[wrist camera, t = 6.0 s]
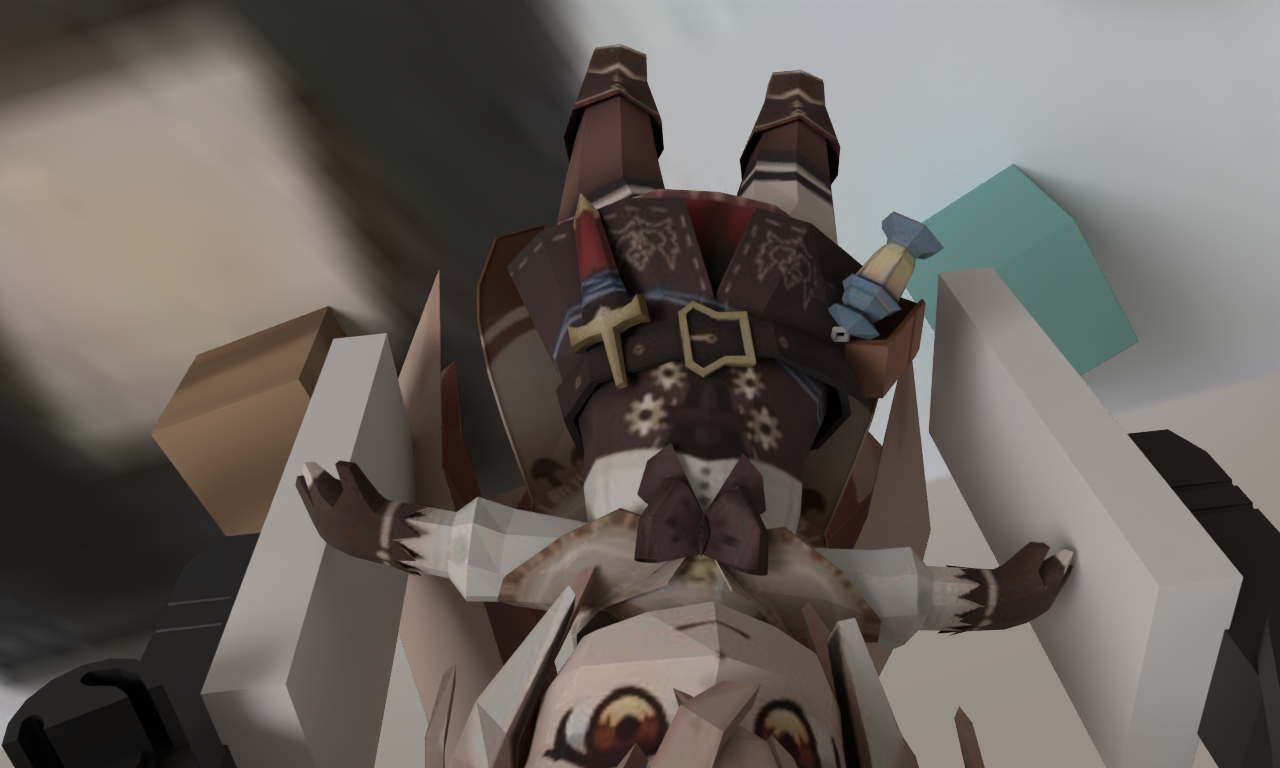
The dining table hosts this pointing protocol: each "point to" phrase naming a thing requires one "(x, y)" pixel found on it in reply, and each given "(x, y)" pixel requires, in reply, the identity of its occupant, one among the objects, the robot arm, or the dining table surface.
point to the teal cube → (1029, 265)
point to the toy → (677, 472)
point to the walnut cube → (245, 417)
